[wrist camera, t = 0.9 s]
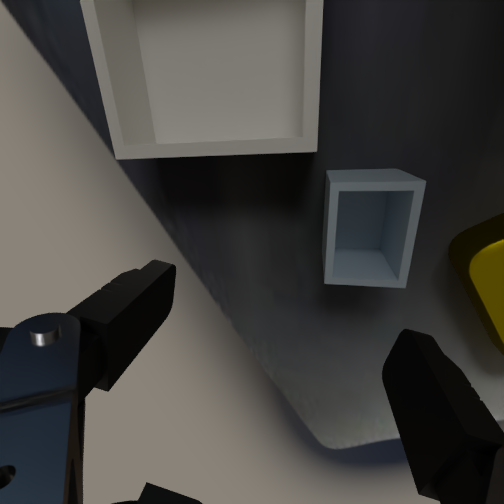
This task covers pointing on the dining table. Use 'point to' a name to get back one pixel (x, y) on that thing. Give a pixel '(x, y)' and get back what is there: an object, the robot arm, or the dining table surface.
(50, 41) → the dining table surface
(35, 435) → the robot arm
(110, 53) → the large crate
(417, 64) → the dining table surface
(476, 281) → the element tile
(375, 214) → the small crate
